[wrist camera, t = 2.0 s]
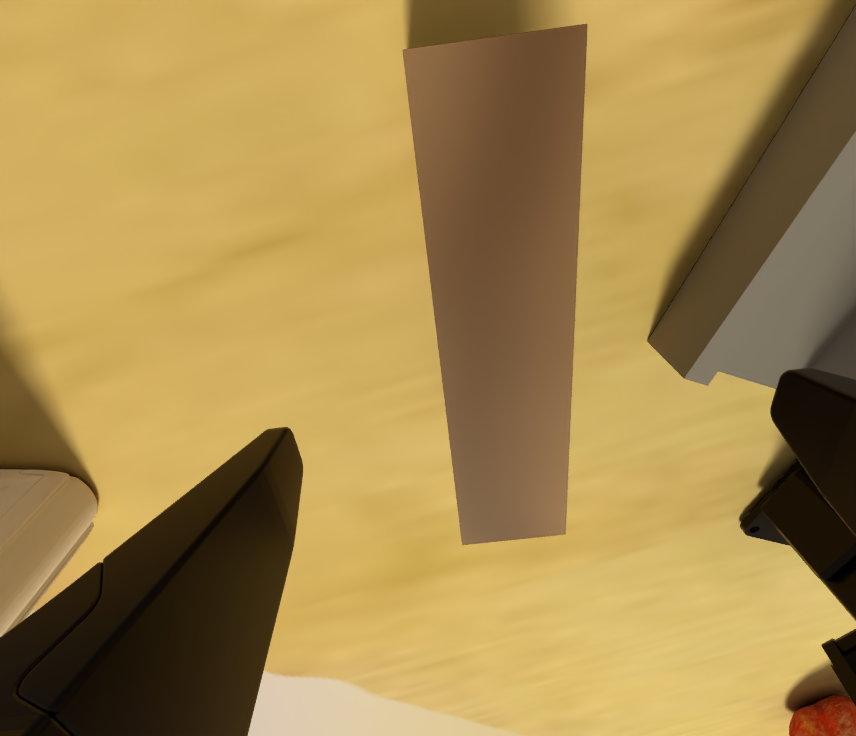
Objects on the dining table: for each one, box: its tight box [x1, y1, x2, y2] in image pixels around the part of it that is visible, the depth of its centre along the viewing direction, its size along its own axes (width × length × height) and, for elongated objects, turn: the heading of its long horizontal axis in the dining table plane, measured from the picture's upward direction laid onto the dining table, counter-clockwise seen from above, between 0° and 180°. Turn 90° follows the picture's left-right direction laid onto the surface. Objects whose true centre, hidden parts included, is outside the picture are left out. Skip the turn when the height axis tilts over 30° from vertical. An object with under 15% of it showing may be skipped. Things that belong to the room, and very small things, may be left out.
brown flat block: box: [403, 24, 587, 545], centre depth 14 cm, size 3×12×8 cm, turn 7°
